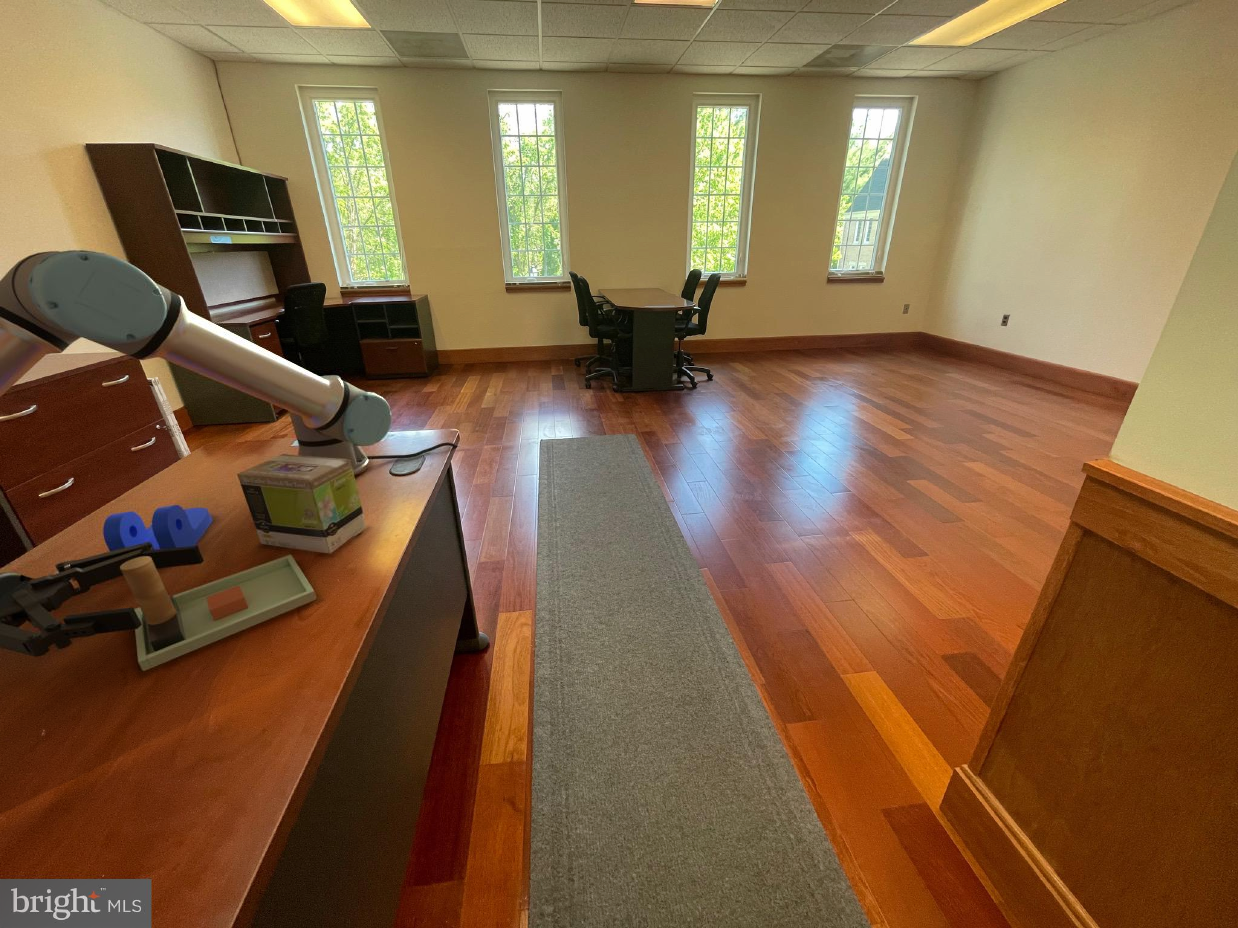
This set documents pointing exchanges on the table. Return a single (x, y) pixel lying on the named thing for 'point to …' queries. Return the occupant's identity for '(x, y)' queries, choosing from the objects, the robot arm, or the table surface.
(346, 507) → the tea box
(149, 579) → the brush
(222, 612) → the orange flat block
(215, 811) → the table surface
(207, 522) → the bracket
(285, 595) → the tray
